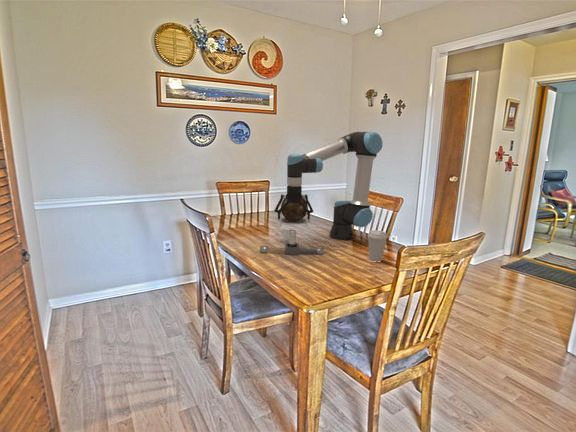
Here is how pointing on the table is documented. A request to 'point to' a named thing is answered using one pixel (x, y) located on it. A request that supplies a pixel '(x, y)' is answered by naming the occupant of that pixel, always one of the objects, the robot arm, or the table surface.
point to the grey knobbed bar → (292, 250)
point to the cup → (284, 233)
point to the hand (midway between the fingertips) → (293, 225)
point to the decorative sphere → (294, 210)
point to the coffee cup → (376, 245)
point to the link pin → (292, 238)
